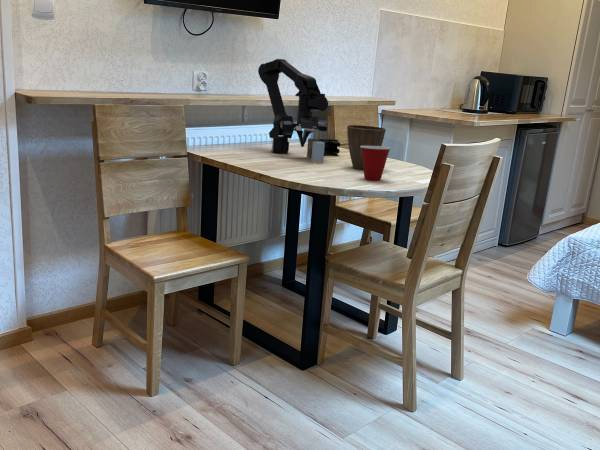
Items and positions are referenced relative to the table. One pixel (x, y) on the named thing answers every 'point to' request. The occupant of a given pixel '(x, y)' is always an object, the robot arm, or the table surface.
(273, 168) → the table surface
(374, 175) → the plastic cup
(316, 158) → the slate block
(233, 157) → the table surface
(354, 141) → the plant pot
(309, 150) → the walnut block
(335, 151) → the end cap
